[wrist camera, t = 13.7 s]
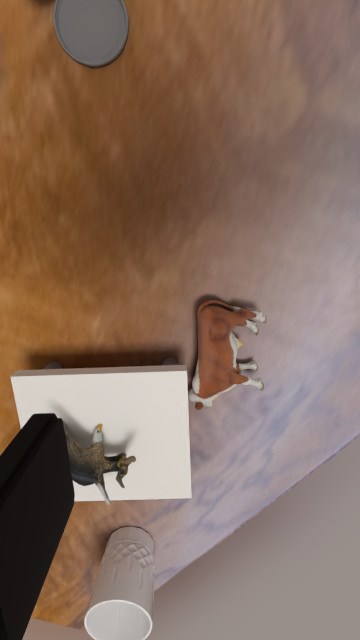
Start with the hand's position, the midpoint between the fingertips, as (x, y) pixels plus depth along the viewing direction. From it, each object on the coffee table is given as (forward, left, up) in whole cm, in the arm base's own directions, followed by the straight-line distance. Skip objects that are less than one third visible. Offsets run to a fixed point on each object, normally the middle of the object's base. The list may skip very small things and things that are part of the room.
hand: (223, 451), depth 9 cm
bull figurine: (-8, +9, -26) cm, 29 cm away
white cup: (+10, +38, -28) cm, 49 cm away
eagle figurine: (+12, +16, -22) cm, 30 cm away
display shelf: (+10, +16, -28) cm, 34 cm away
